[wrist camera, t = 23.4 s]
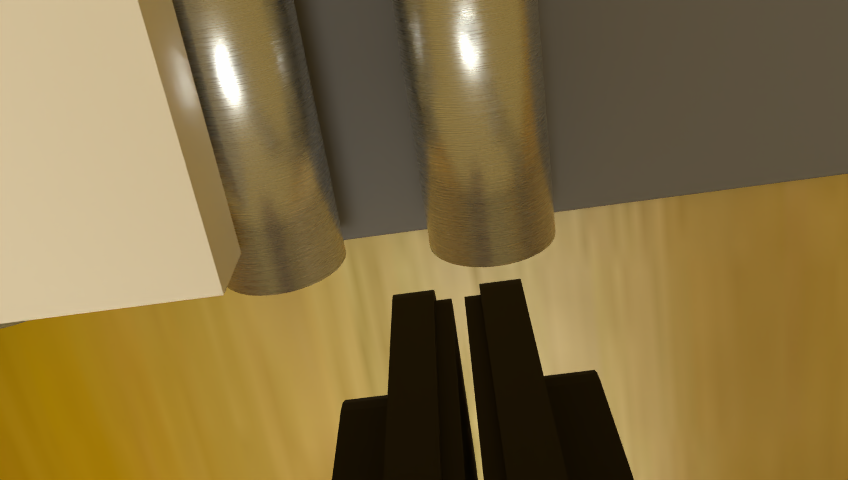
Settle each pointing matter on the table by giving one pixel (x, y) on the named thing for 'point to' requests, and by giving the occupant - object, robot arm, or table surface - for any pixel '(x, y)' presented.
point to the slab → (104, 162)
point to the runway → (603, 101)
